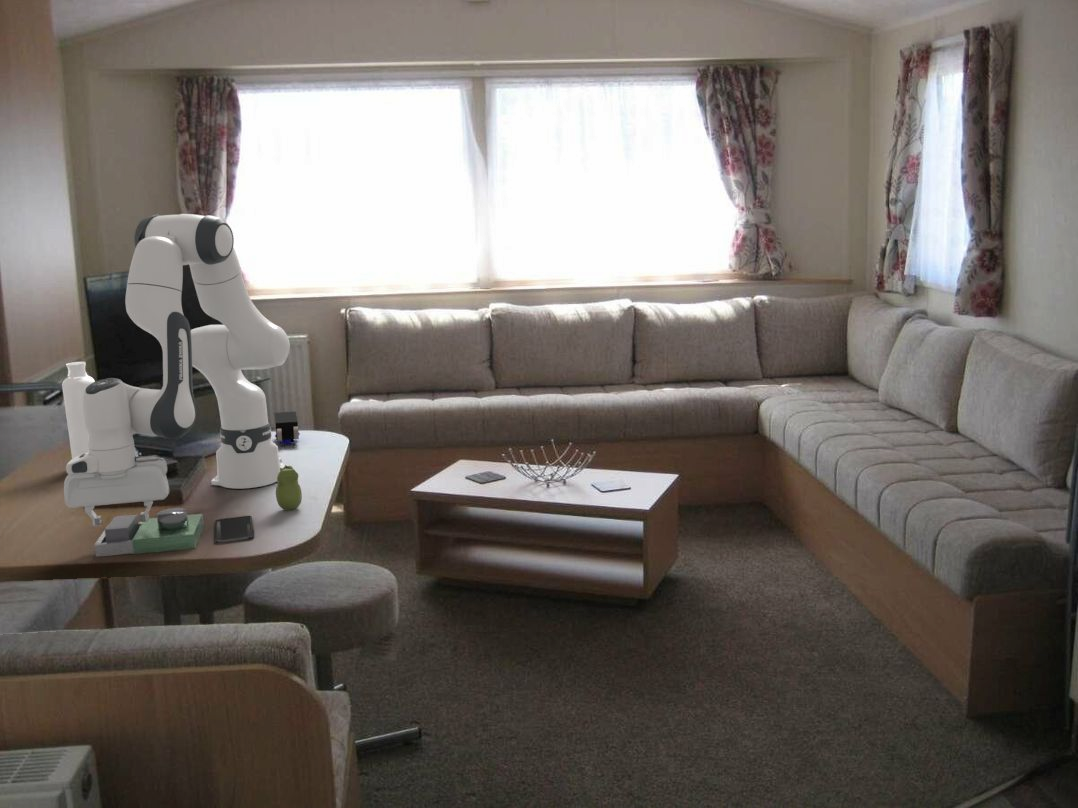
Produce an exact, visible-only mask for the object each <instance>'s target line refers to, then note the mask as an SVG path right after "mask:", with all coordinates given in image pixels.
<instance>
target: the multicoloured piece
mask: <svg viewBox="0 0 1078 808" xmlns="http://www.w3.org/2000/svg"><path fill="white" fill-rule="evenodd" d="M138 522H139V529H138V531H137V533H136V534H135V536H134V538H133V539H132V540H128V541H117V542H106V536H105V529H106V528H107V526H106V527H105V529H104V530H103V532H101V534H100V536H99V537H98V539H97V540H96V542H95V543H94V546H93V547H94V553H95V557H96V558H98V557H109V556H119V555H129V554H131V555H132V554H134V555H138V554H139V555H140V554H147V553H148V554H149V553H159V552H170V551H181V550H190V549H196V548H197V544H198V542H199V540H200V537H201V535H202V533H203V531H204V528H205V526H204V515H203V513H197V514H196V513H195V514H188V510H187V509H186V508H184V507H171V508H166V509H162V510H160V511H158V512H157V513H156V517H149V521H148V522H141V521H138Z"/></svg>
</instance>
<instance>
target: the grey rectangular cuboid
mask: <svg viewBox="0 0 1078 808" xmlns="http://www.w3.org/2000/svg"><path fill="white" fill-rule="evenodd" d="M139 522H140V521H139V515H138V514H130V515H129V514H127V515H125V514H124V515H116V516H114V517H113V519H112V520H111V522H110V523H109V524H108V525H107V526H106V527H107V528H106V527H105V529H104V530H105V536H106V542H117V541H128V540H132V539H133V538H134V536H135V534H136V533H137V531H138V529H139Z"/></svg>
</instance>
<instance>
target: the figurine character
mask: <svg viewBox="0 0 1078 808" xmlns="http://www.w3.org/2000/svg"><path fill="white" fill-rule="evenodd" d="M273 413H274V414H273V415H274V423H275V434H274V437H275V438H276V441H277V442H281V443H280V444H281V446H282V447H285V445H286V444H288V445H289V444H291V445H292V446H293V447H294V446H296V442H295V440H299V436H300V432H299V424H298V423H299V421H298V416H297V411H283V412H282V411H281V412H273Z"/></svg>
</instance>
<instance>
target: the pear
mask: <svg viewBox="0 0 1078 808" xmlns="http://www.w3.org/2000/svg"><path fill="white" fill-rule="evenodd" d="M284 466H285V467H284V468H280V472H279V474H278V476H277V484H276V488H275V498H276V502H277V505H278V506H279V507H280V509H282V510H284V511H293V510H296V509H297V508H299V507H300V506H301V504H302V498H303V493H302V489H301V486H300V484H299V473H298V472H297V471H296V469H294V468H293V466H291V465H285V464H284Z"/></svg>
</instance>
